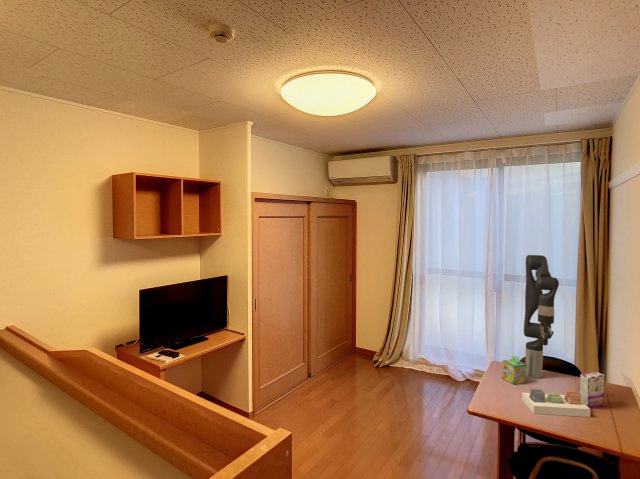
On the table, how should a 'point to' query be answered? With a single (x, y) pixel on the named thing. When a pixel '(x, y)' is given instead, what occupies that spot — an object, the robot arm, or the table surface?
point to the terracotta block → (572, 397)
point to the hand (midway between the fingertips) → (544, 344)
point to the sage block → (554, 398)
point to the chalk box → (514, 371)
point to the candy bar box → (592, 389)
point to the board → (556, 407)
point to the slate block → (537, 395)
